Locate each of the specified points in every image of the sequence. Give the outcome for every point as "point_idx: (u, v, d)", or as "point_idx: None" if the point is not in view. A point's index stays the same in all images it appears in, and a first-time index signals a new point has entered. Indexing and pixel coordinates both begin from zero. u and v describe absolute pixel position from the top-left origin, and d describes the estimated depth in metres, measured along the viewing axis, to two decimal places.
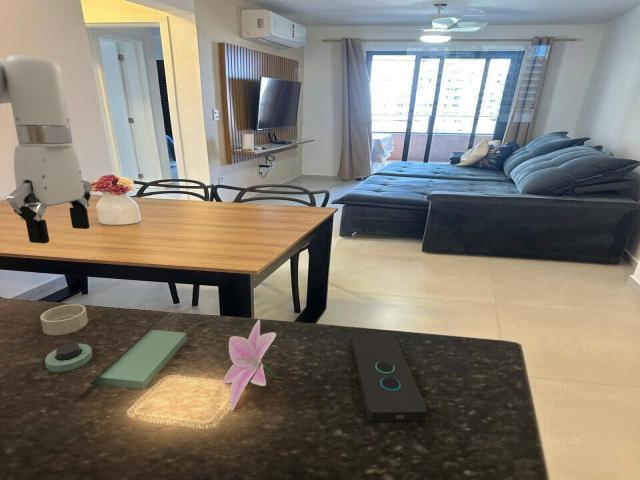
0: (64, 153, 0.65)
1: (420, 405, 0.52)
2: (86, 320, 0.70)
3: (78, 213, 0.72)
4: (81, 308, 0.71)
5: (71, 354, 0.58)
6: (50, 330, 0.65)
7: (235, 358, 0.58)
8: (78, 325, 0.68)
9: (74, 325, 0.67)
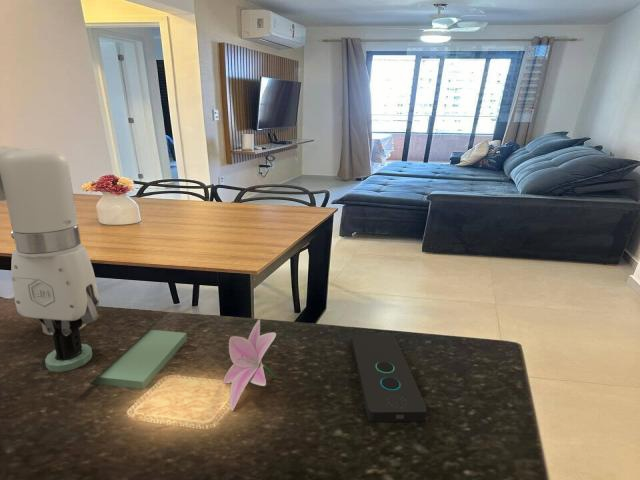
0: None
1: (420, 405, 0.52)
2: None
3: None
4: None
5: None
6: None
7: (235, 358, 0.58)
8: None
9: None
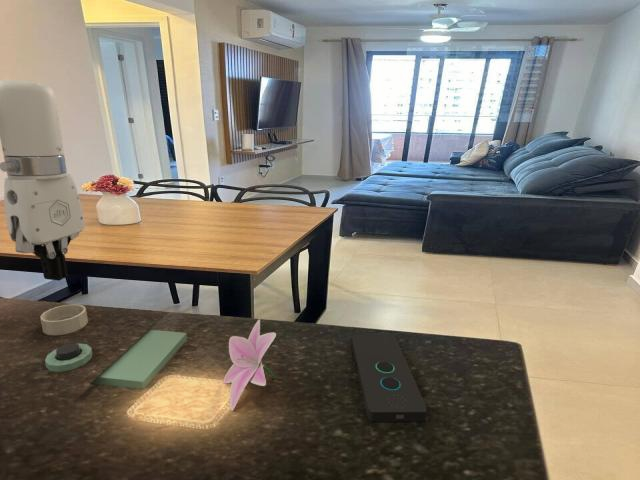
0: None
1: (420, 405, 0.52)
2: (86, 320, 0.70)
3: None
4: (81, 308, 0.71)
5: (71, 354, 0.58)
6: (50, 330, 0.65)
7: (235, 358, 0.58)
8: (78, 325, 0.68)
9: (74, 325, 0.67)
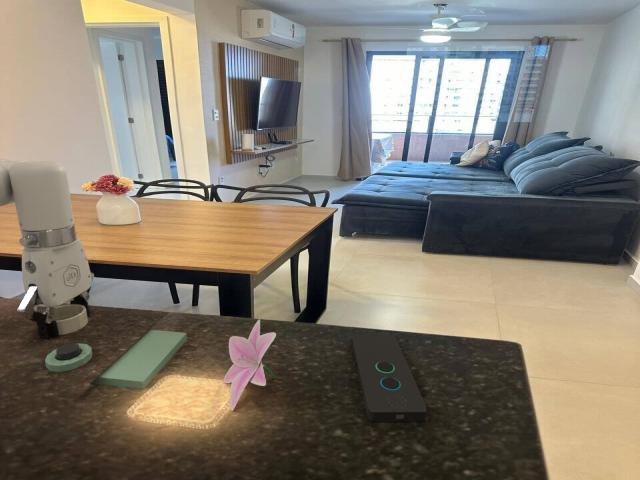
0: None
1: (420, 405, 0.52)
2: (86, 320, 0.70)
3: None
4: (81, 308, 0.71)
5: (71, 354, 0.58)
6: None
7: (235, 358, 0.58)
8: (78, 325, 0.68)
9: (74, 325, 0.67)
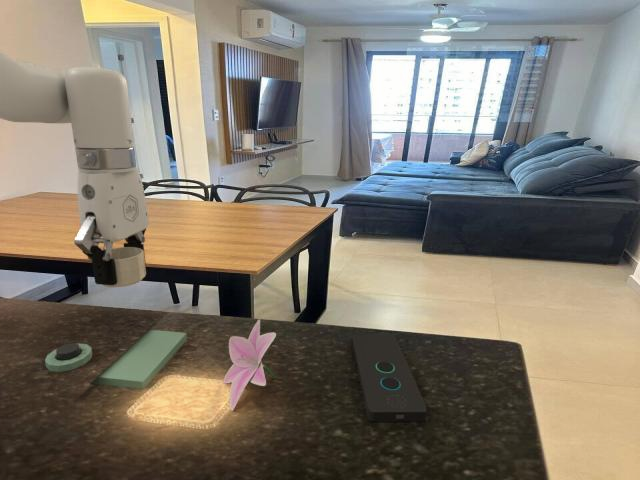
0: None
1: (420, 405, 0.52)
2: (144, 263, 0.61)
3: None
4: (137, 251, 0.62)
5: (71, 354, 0.58)
6: None
7: (235, 358, 0.58)
8: (137, 267, 0.59)
9: (133, 266, 0.58)
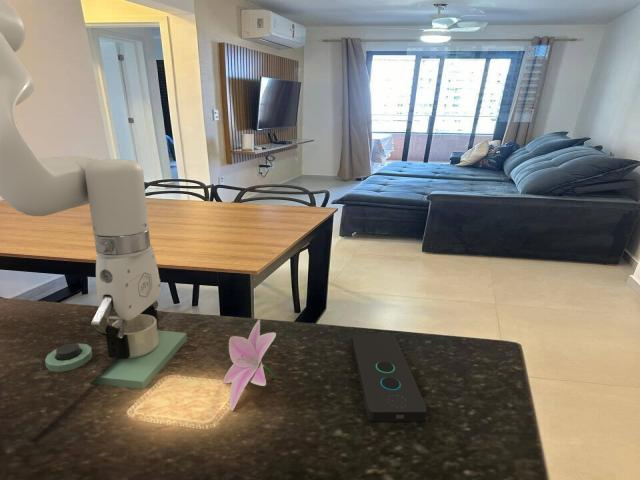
0: None
1: (420, 405, 0.52)
2: (157, 332, 0.64)
3: None
4: (150, 319, 0.65)
5: (71, 354, 0.58)
6: None
7: (235, 358, 0.58)
8: (150, 338, 0.62)
9: (147, 338, 0.61)
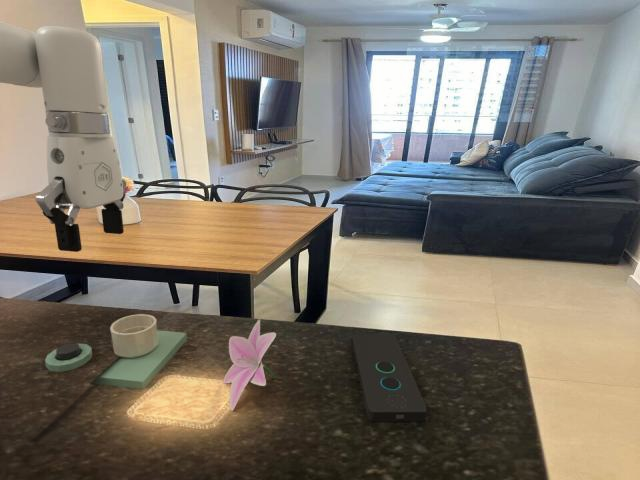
0: None
1: (420, 405, 0.52)
2: (157, 332, 0.64)
3: None
4: (150, 319, 0.65)
5: (71, 354, 0.58)
6: (122, 344, 0.60)
7: (235, 358, 0.58)
8: (150, 338, 0.62)
9: (147, 338, 0.61)
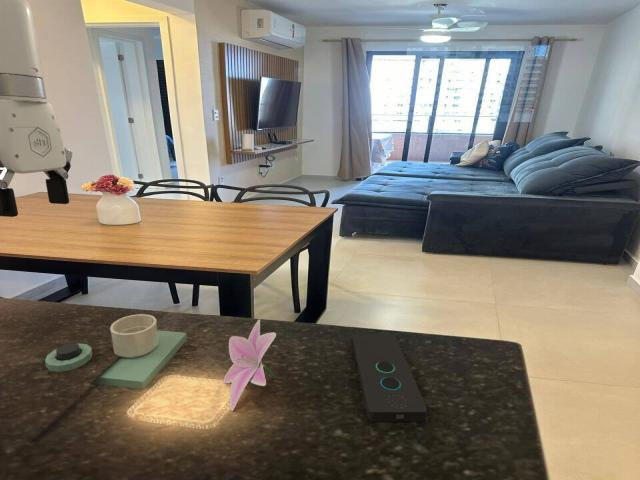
0: None
1: (420, 405, 0.52)
2: (157, 332, 0.64)
3: None
4: (150, 319, 0.65)
5: (71, 354, 0.58)
6: (122, 344, 0.60)
7: (235, 358, 0.58)
8: (150, 338, 0.62)
9: (147, 338, 0.61)
